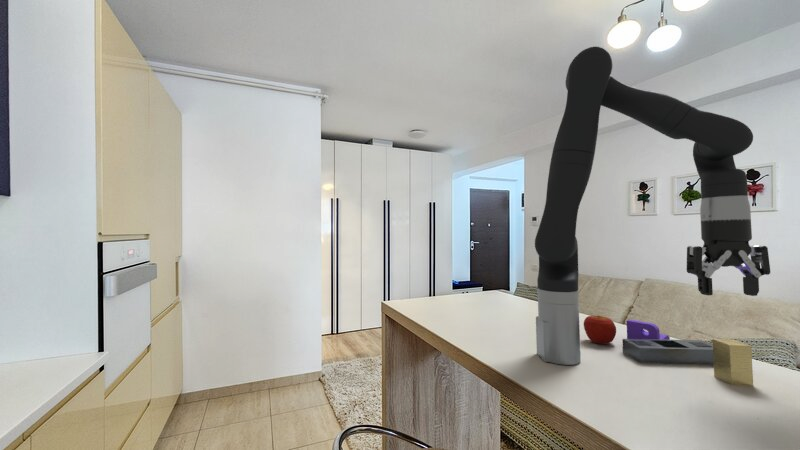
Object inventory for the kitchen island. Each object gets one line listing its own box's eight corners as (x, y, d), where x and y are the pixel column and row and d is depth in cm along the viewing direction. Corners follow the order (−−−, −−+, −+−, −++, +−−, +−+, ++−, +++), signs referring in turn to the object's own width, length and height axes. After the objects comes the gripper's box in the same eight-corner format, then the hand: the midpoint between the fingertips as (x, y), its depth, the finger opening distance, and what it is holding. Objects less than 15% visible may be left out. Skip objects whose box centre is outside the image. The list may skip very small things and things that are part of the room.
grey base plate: (640, 362, 76) (639, 347, 76) (622, 352, 83) (622, 338, 83) (727, 365, 74) (726, 349, 74) (702, 354, 81) (701, 339, 81)
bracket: (658, 351, 84) (656, 325, 84) (627, 345, 89) (626, 320, 90) (669, 342, 91) (668, 318, 92) (640, 336, 97) (640, 313, 97)
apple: (610, 349, 85) (609, 320, 86) (579, 342, 92) (578, 314, 92) (620, 343, 90) (619, 315, 91) (590, 336, 96) (589, 310, 97)
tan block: (731, 384, 65) (729, 345, 65) (714, 376, 69) (712, 338, 69) (753, 385, 64) (751, 345, 65) (734, 377, 68) (732, 339, 69)
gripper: (703, 218, 65) (707, 298, 64) (781, 217, 63) (785, 298, 63) (675, 220, 72) (678, 291, 72) (744, 219, 71) (747, 292, 70)
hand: (728, 295), depth 67 cm, fingers open, 8 cm apart
